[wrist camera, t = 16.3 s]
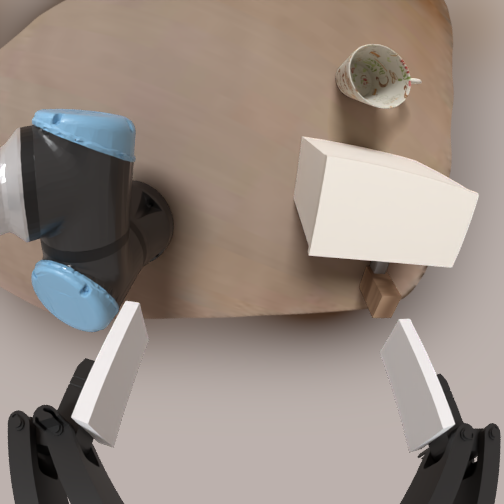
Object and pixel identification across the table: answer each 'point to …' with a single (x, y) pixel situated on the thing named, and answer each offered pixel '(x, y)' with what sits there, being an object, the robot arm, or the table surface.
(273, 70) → the table surface
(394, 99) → the mug
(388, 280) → the blade tool
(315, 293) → the table surface
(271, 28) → the table surface
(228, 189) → the table surface
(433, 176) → the cabinet
